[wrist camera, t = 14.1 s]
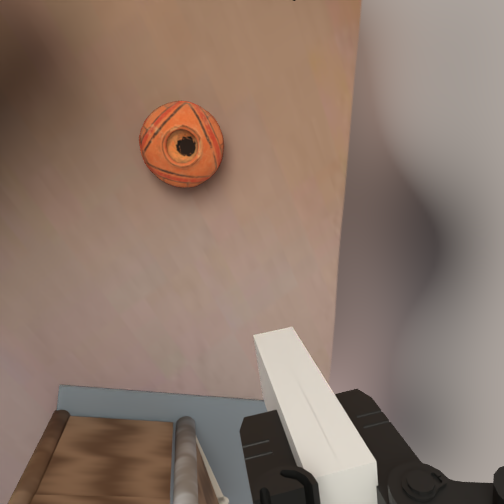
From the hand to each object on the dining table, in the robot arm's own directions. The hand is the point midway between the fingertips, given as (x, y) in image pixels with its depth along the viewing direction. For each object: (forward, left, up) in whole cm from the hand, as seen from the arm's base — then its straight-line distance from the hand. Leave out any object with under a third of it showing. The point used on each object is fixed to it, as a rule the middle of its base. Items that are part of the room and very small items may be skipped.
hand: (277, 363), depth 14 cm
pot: (-2, +9, -30) cm, 31 cm away
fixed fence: (-15, -22, -29) cm, 39 cm away
